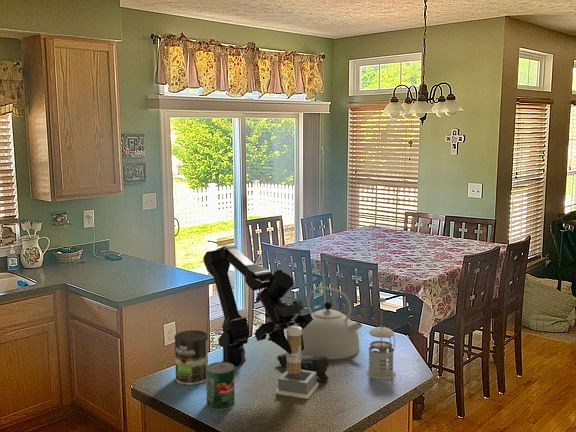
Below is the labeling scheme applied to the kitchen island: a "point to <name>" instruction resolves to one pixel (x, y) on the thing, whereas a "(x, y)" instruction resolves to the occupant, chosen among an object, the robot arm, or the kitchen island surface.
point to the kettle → (330, 332)
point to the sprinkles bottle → (294, 349)
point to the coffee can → (191, 357)
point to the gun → (310, 364)
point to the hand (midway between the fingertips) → (297, 351)
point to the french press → (381, 353)
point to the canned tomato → (220, 385)
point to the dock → (297, 384)
